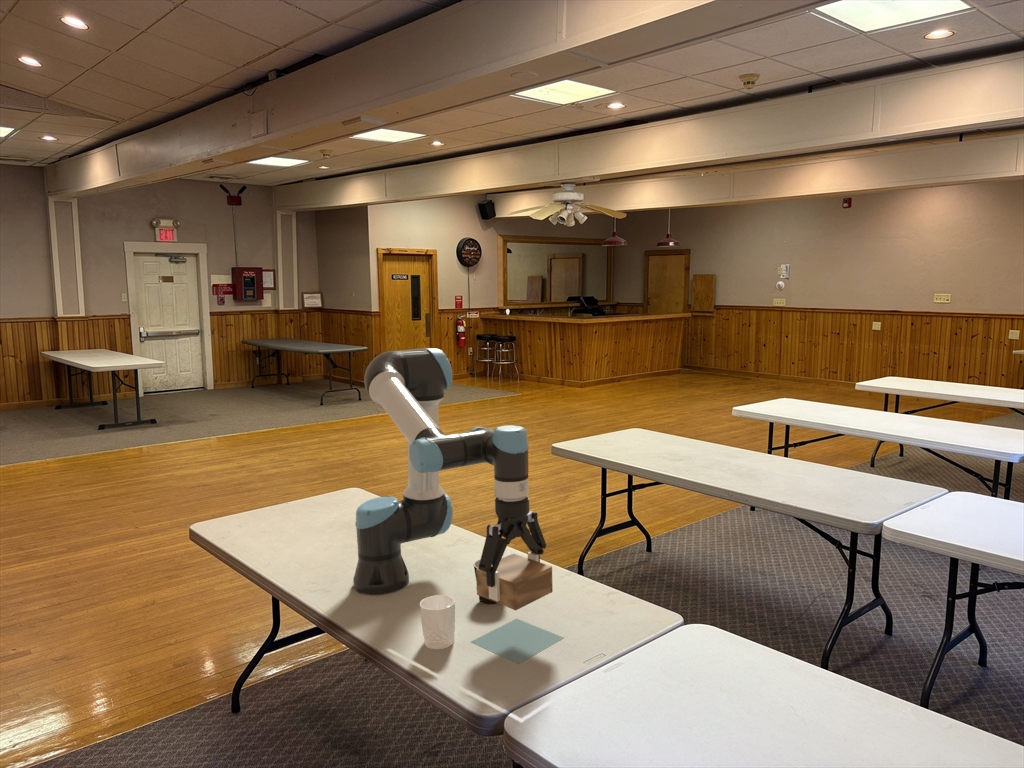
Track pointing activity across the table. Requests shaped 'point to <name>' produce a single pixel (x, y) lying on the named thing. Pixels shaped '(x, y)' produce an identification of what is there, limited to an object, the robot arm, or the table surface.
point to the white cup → (438, 621)
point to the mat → (517, 640)
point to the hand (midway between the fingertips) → (514, 589)
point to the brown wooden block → (518, 581)
